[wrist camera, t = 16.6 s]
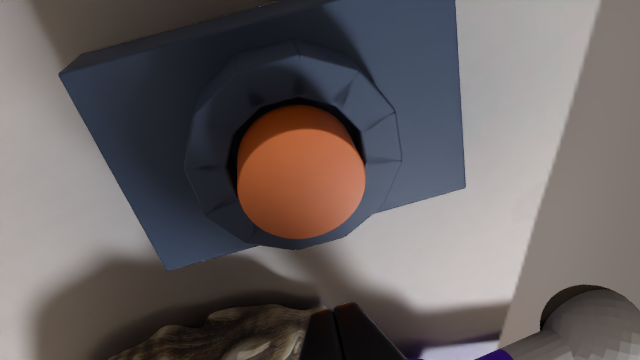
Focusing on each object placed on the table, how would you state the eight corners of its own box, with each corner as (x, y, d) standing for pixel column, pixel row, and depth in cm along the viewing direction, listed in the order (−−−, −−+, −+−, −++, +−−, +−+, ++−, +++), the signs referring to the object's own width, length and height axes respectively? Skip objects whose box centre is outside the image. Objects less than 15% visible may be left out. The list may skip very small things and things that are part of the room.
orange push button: (340, 89, 13) (354, 111, 11) (361, 190, 15) (375, 220, 13) (220, 122, 13) (218, 149, 11) (256, 219, 15) (259, 253, 13)
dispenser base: (427, -40, 15) (483, -27, 12) (444, 162, 19) (489, 215, 16) (79, 54, 15) (30, 94, 11) (173, 237, 19) (159, 307, 15)
